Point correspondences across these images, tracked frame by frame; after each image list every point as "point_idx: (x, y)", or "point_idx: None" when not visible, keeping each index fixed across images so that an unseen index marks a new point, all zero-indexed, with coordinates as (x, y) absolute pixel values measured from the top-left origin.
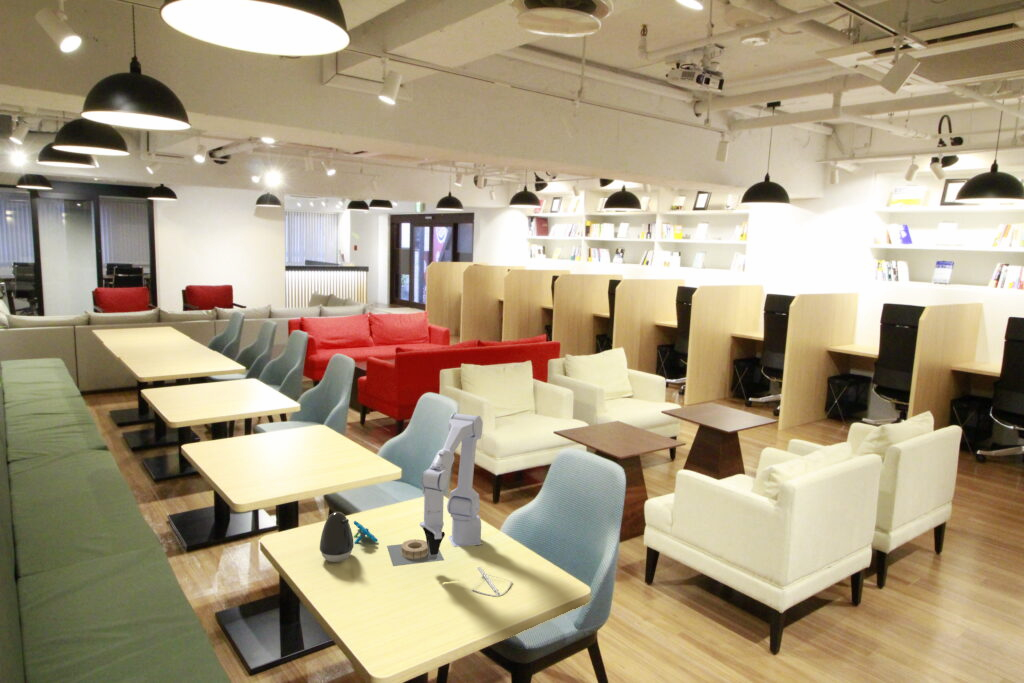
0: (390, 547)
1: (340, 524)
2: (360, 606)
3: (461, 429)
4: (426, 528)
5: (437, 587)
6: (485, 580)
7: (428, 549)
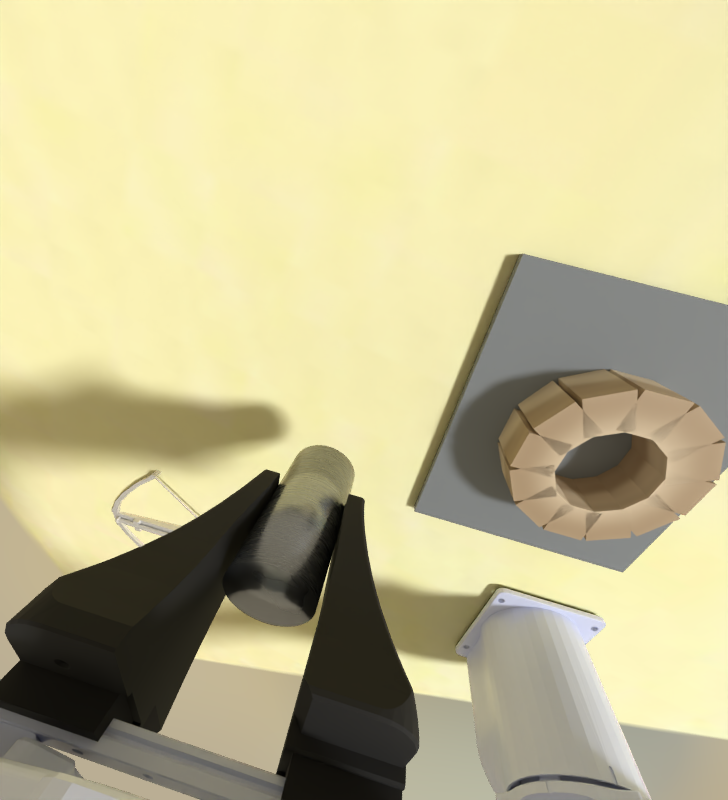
0: None
1: None
2: None
3: None
4: (6, 768)
5: (210, 379)
6: None
7: (296, 489)
